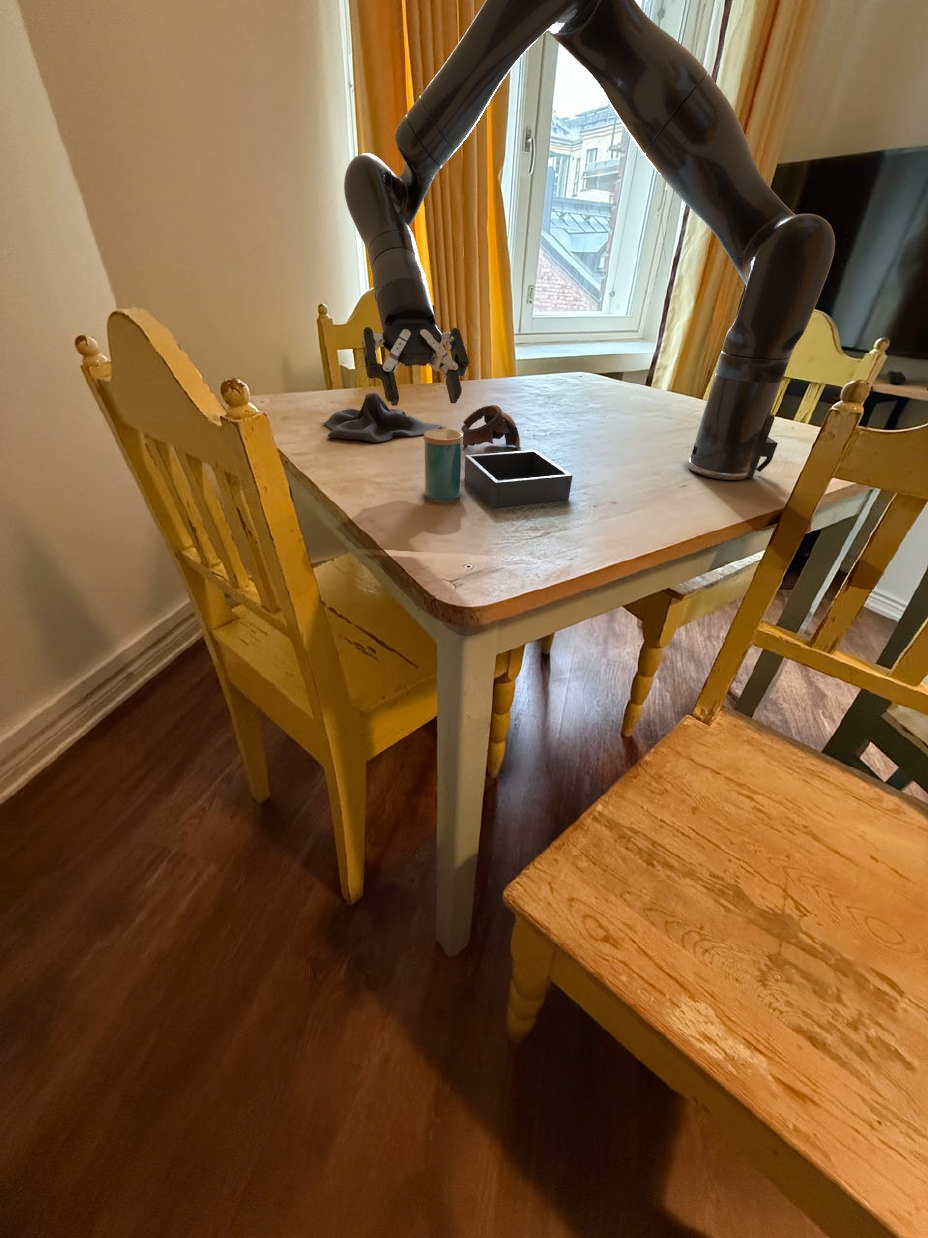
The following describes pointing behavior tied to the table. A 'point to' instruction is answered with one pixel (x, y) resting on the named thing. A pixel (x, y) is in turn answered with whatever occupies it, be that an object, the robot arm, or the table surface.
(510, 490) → the bin
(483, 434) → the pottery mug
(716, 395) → the robot arm
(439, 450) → the spice jar
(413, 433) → the cloth
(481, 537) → the table surface
